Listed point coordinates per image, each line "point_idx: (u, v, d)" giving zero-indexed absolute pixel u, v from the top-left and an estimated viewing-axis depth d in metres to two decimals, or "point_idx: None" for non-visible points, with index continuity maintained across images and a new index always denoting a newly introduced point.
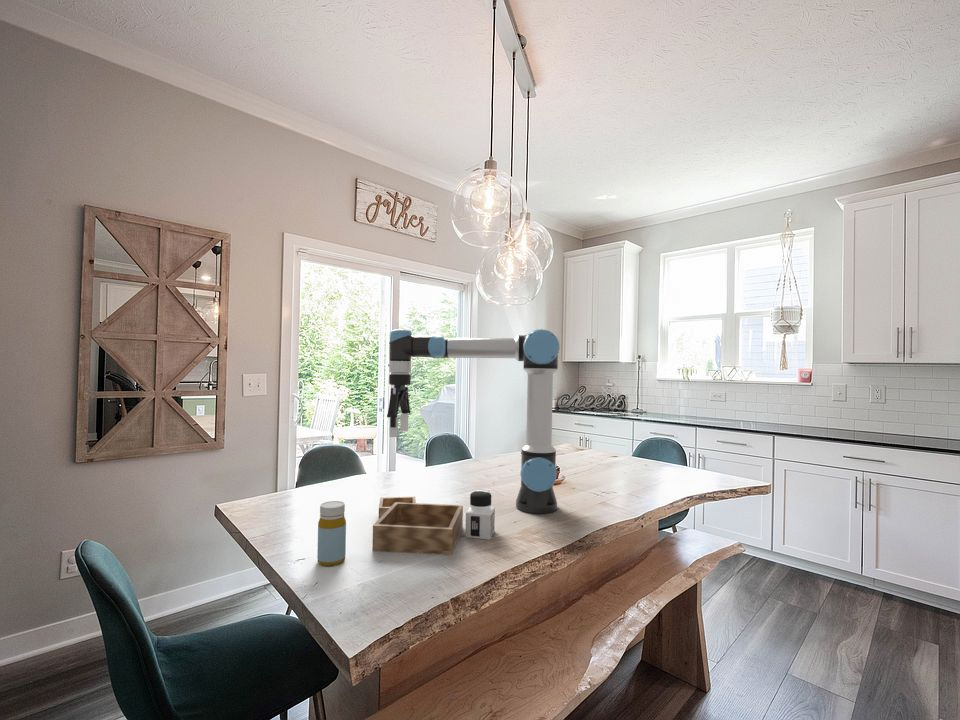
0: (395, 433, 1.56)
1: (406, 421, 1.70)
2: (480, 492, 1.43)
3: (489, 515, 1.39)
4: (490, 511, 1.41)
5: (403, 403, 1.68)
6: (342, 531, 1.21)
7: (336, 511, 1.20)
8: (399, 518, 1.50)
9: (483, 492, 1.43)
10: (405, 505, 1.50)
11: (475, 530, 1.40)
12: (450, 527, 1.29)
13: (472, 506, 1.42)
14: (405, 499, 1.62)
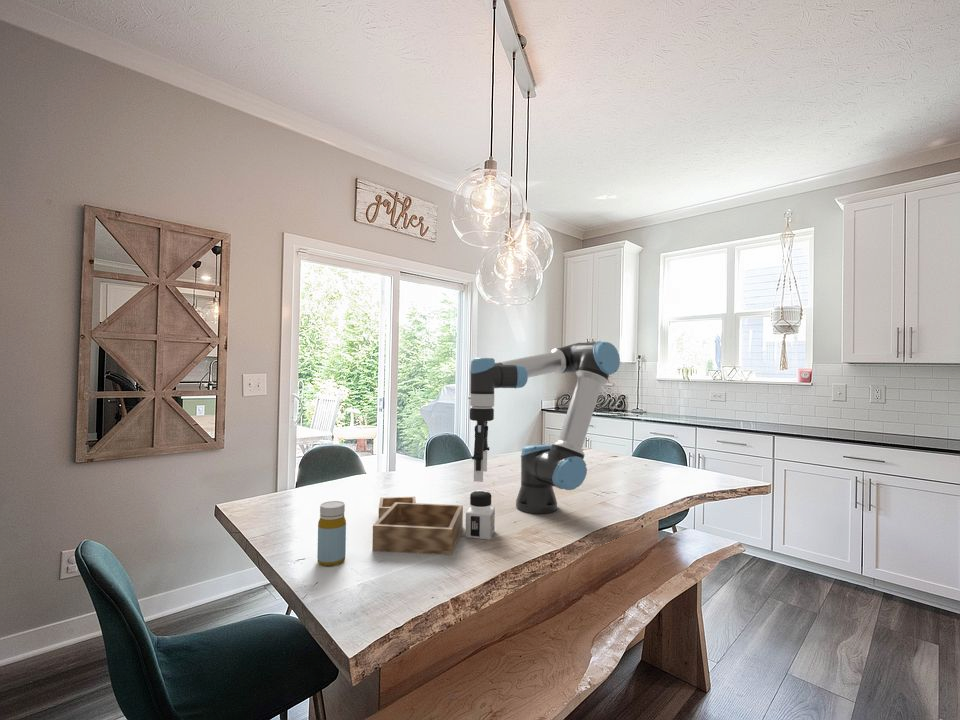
0: (480, 477, 1.36)
1: (485, 460, 1.50)
2: (480, 492, 1.43)
3: (489, 515, 1.39)
4: (490, 511, 1.41)
5: (483, 440, 1.48)
6: (342, 531, 1.21)
7: (336, 511, 1.20)
8: (399, 518, 1.50)
9: (483, 492, 1.43)
10: (405, 505, 1.50)
11: (475, 530, 1.40)
12: (450, 527, 1.29)
13: (472, 506, 1.42)
14: (405, 499, 1.62)
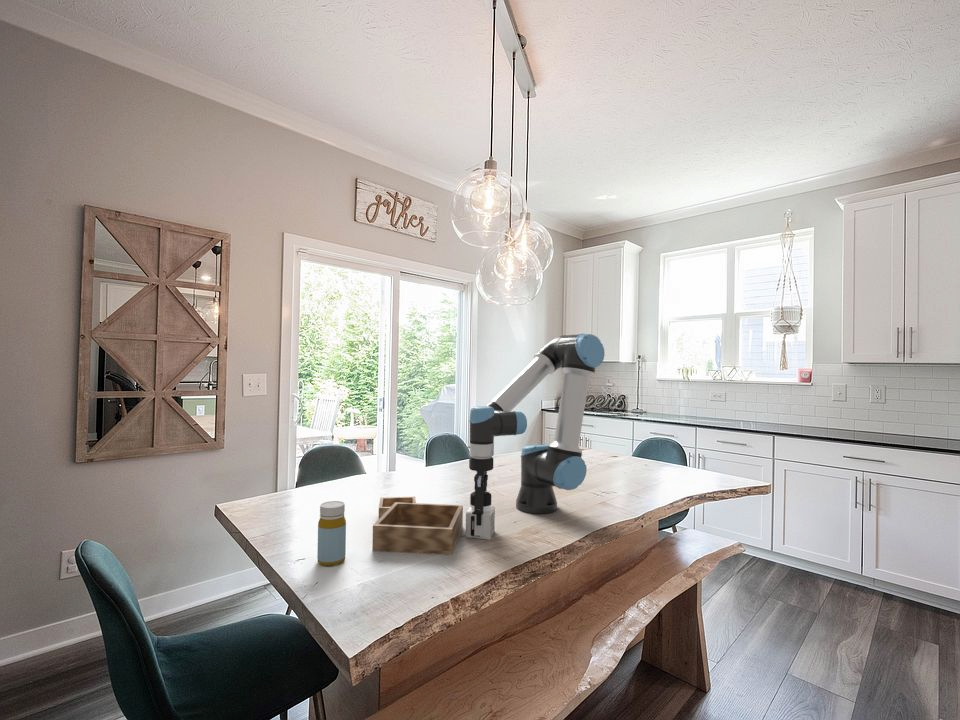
0: (481, 531, 1.39)
1: None
2: None
3: (489, 515, 1.39)
4: (490, 511, 1.41)
5: None
6: (342, 531, 1.21)
7: (336, 511, 1.20)
8: (399, 518, 1.50)
9: None
10: (405, 505, 1.50)
11: None
12: (450, 527, 1.29)
13: (472, 506, 1.42)
14: (405, 499, 1.62)
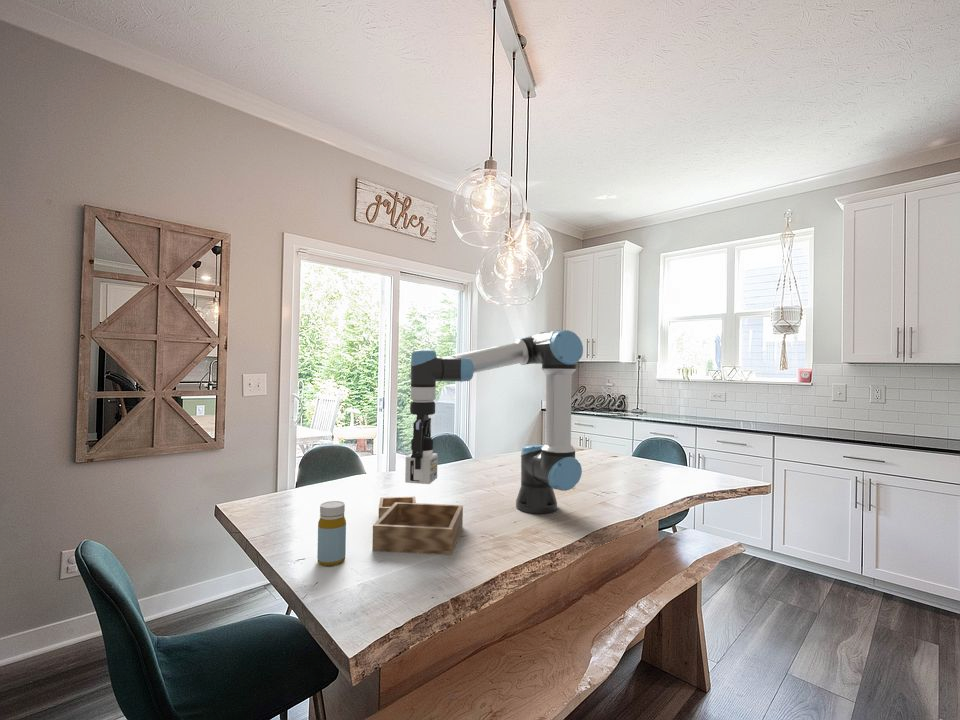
0: (420, 476, 1.35)
1: None
2: None
3: (429, 459, 1.36)
4: (431, 456, 1.38)
5: None
6: (342, 532, 1.21)
7: (336, 511, 1.20)
8: (399, 518, 1.50)
9: None
10: (405, 505, 1.50)
11: None
12: (450, 527, 1.29)
13: None
14: (405, 499, 1.62)
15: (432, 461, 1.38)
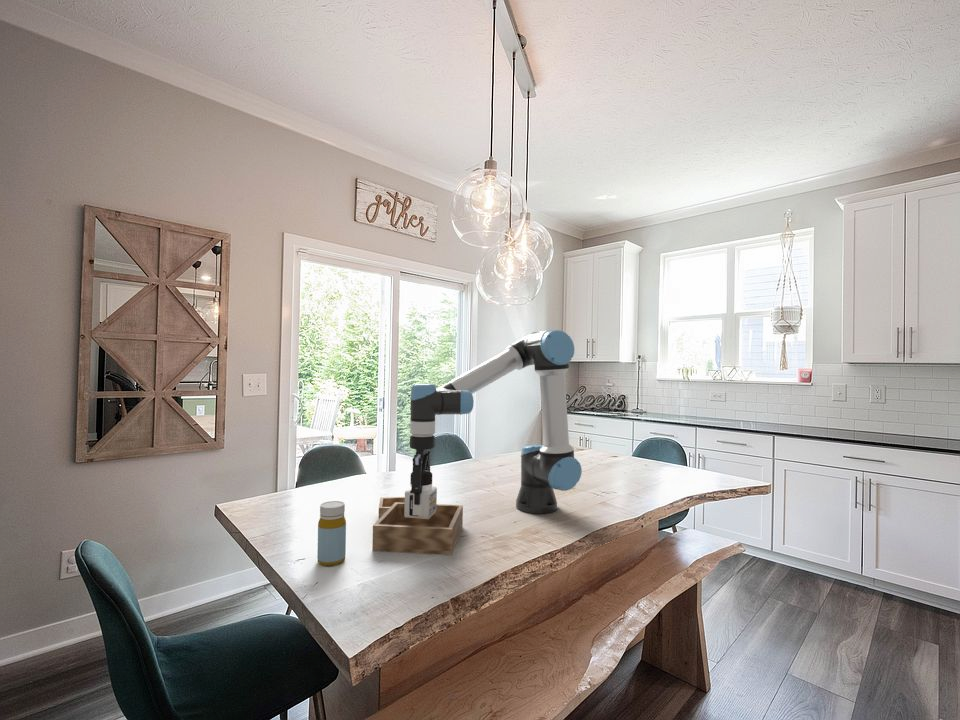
0: (419, 511, 1.35)
1: None
2: None
3: (428, 494, 1.35)
4: (430, 490, 1.38)
5: None
6: (342, 532, 1.21)
7: (336, 511, 1.20)
8: (399, 518, 1.50)
9: (424, 471, 1.40)
10: None
11: None
12: (450, 527, 1.29)
13: None
14: None
15: (431, 496, 1.37)
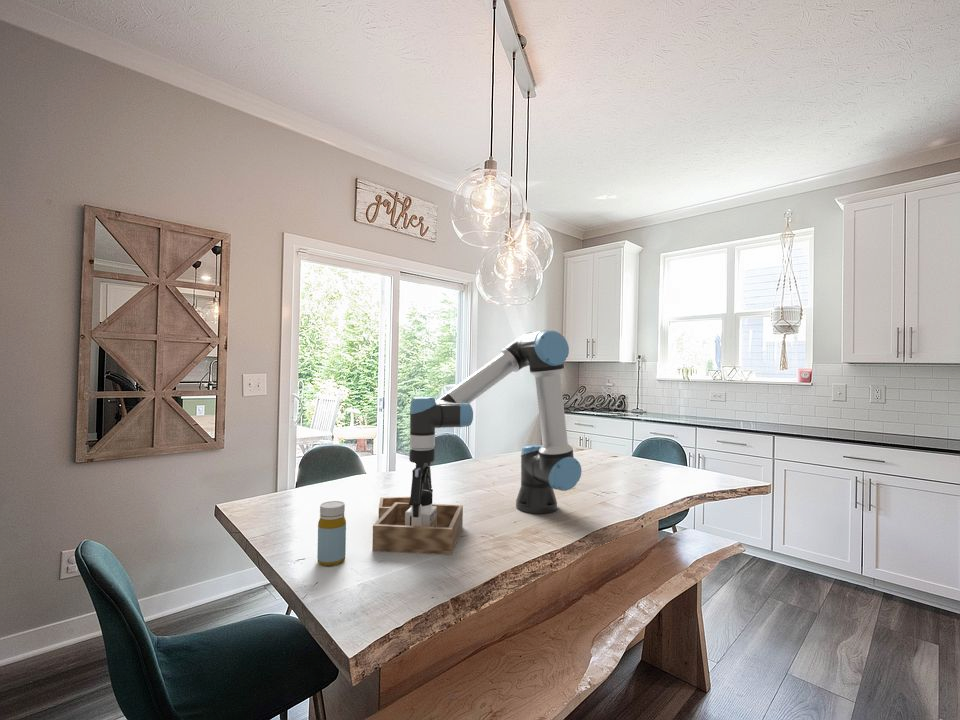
0: (418, 523, 1.33)
1: None
2: None
3: (428, 515, 1.36)
4: (430, 510, 1.38)
5: (425, 482, 1.44)
6: (342, 532, 1.21)
7: (336, 511, 1.20)
8: (399, 518, 1.50)
9: (424, 491, 1.40)
10: (405, 505, 1.50)
11: None
12: (450, 527, 1.29)
13: None
14: (405, 499, 1.62)
15: (432, 516, 1.38)
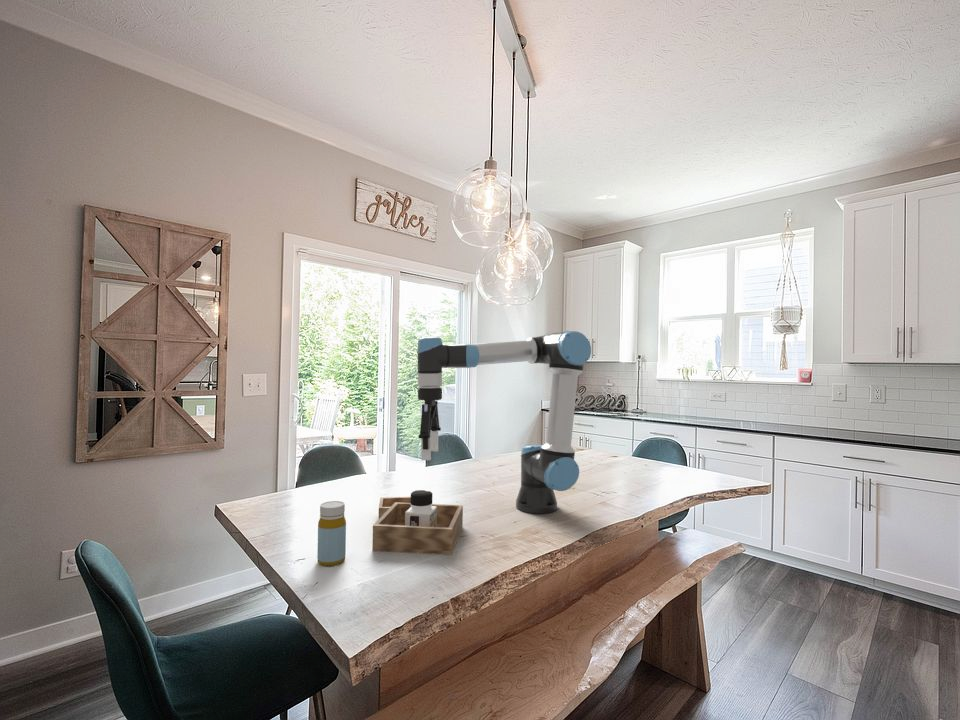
0: (428, 456, 1.37)
1: (436, 440, 1.51)
2: (421, 491, 1.40)
3: (428, 515, 1.36)
4: (430, 510, 1.38)
5: (433, 420, 1.49)
6: (342, 532, 1.21)
7: (336, 511, 1.20)
8: (399, 518, 1.50)
9: (424, 491, 1.40)
10: (405, 505, 1.50)
11: None
12: (450, 527, 1.29)
13: (412, 505, 1.38)
14: (405, 499, 1.62)
15: (432, 516, 1.38)
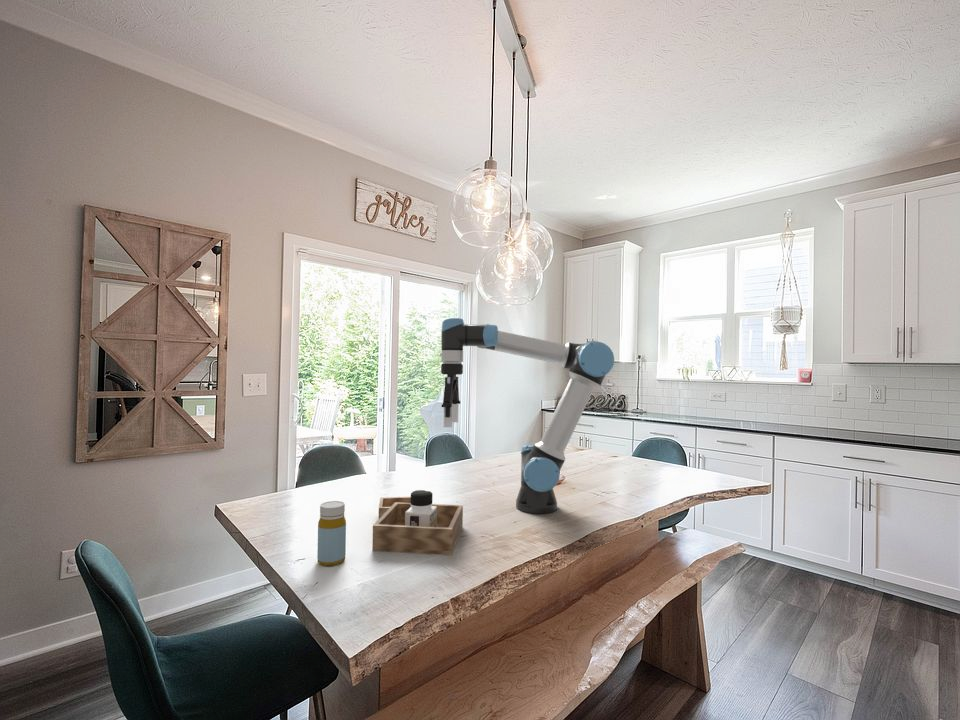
0: (450, 423, 1.53)
1: (456, 412, 1.66)
2: (421, 491, 1.40)
3: (428, 515, 1.36)
4: (430, 510, 1.38)
5: (454, 394, 1.64)
6: (342, 531, 1.21)
7: (336, 511, 1.20)
8: (399, 518, 1.50)
9: (424, 491, 1.40)
10: (405, 505, 1.50)
11: None
12: (450, 527, 1.29)
13: (412, 505, 1.38)
14: (405, 499, 1.62)
15: (432, 516, 1.38)
